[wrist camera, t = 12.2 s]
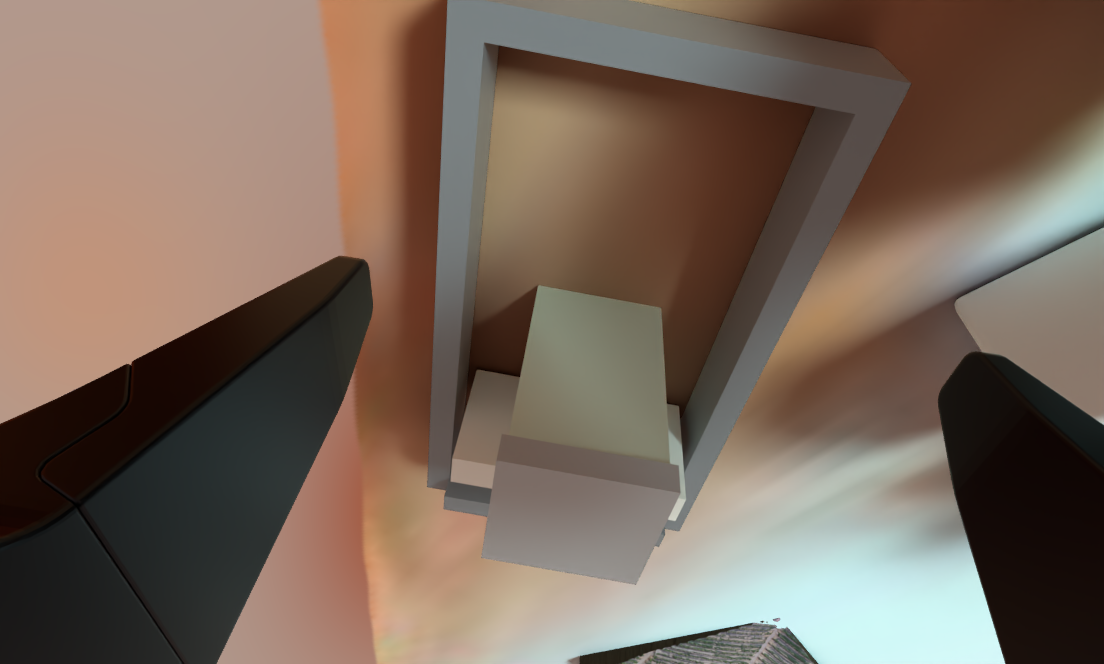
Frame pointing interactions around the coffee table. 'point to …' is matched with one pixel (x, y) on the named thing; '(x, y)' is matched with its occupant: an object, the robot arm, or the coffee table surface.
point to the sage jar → (585, 442)
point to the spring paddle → (493, 418)
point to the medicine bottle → (1049, 320)
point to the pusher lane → (683, 54)
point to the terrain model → (714, 648)
